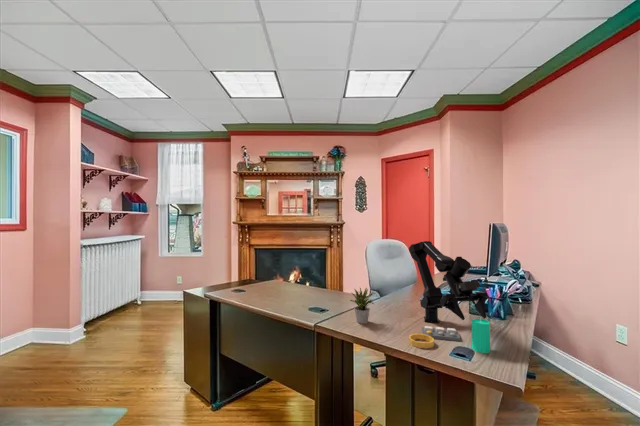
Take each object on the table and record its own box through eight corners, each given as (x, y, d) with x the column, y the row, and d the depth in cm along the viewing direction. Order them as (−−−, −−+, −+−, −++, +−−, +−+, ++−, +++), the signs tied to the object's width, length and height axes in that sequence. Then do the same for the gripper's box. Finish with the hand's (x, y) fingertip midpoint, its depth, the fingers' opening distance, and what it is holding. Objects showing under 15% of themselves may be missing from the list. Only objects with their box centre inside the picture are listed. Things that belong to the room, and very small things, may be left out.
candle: (484, 346, 116) (484, 314, 117) (493, 353, 110) (493, 319, 111) (468, 346, 116) (468, 314, 117) (477, 353, 110) (477, 319, 111)
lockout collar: (408, 337, 125) (408, 332, 125) (432, 340, 122) (432, 335, 122) (409, 346, 116) (409, 341, 116) (435, 349, 113) (435, 344, 113)
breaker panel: (422, 329, 134) (422, 324, 134) (456, 333, 130) (456, 327, 130) (423, 337, 125) (423, 331, 125) (460, 341, 121) (460, 335, 121)
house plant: (378, 329, 135) (377, 291, 135) (346, 326, 137) (346, 290, 138) (378, 318, 149) (378, 285, 149) (349, 317, 151) (349, 283, 152)
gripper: (443, 273, 121) (462, 309, 110) (485, 271, 124) (507, 306, 113) (432, 289, 128) (449, 324, 117) (472, 287, 132) (492, 321, 121)
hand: (474, 318), depth 117 cm, fingers open, 9 cm apart
